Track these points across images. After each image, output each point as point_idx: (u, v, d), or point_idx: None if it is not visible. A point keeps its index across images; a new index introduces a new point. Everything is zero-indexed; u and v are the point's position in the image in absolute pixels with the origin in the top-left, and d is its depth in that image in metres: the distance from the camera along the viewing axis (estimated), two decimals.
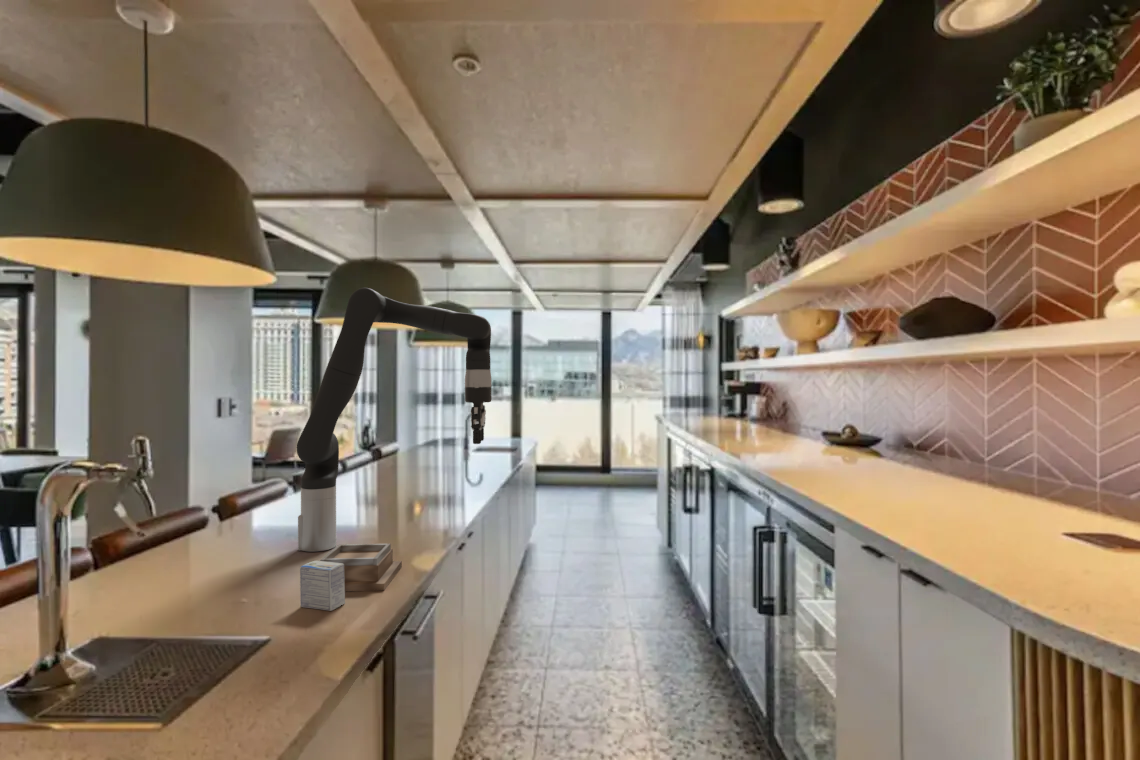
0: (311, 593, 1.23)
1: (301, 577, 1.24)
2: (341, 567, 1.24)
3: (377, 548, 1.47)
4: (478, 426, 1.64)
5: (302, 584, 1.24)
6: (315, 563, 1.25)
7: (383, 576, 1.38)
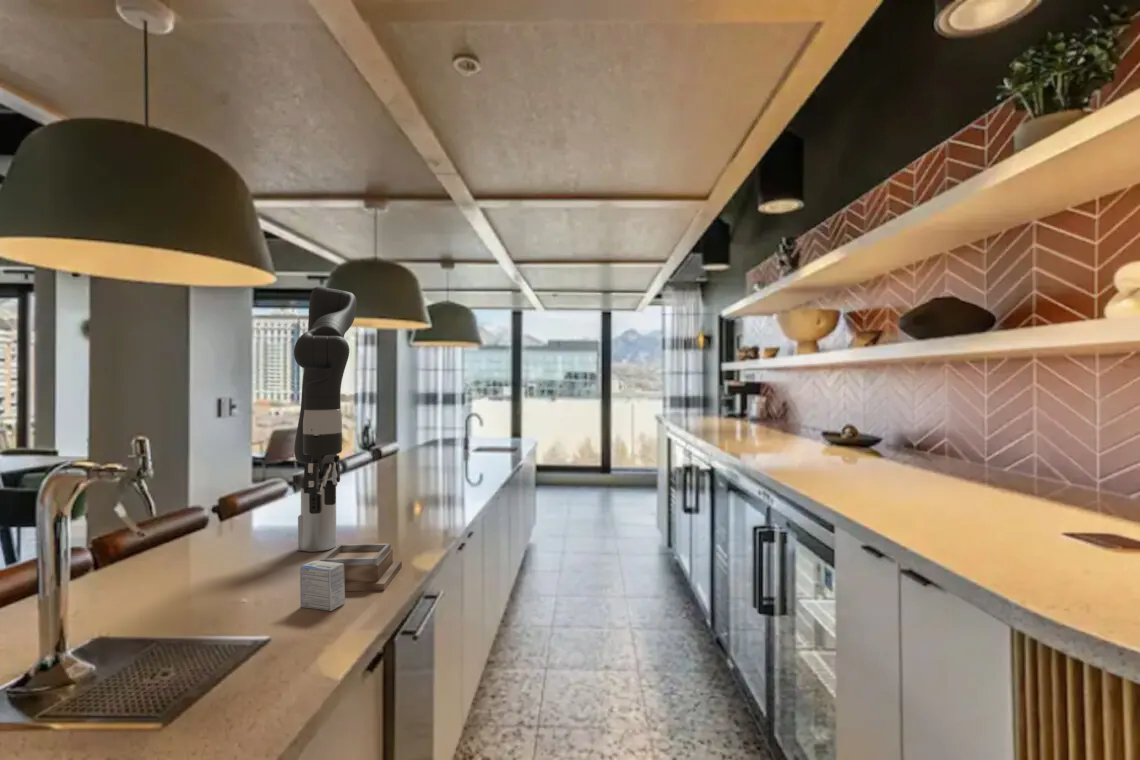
0: (311, 593, 1.23)
1: (301, 577, 1.24)
2: (341, 567, 1.24)
3: (377, 548, 1.47)
4: (313, 490, 1.18)
5: (302, 584, 1.24)
6: (315, 563, 1.25)
7: (383, 576, 1.38)
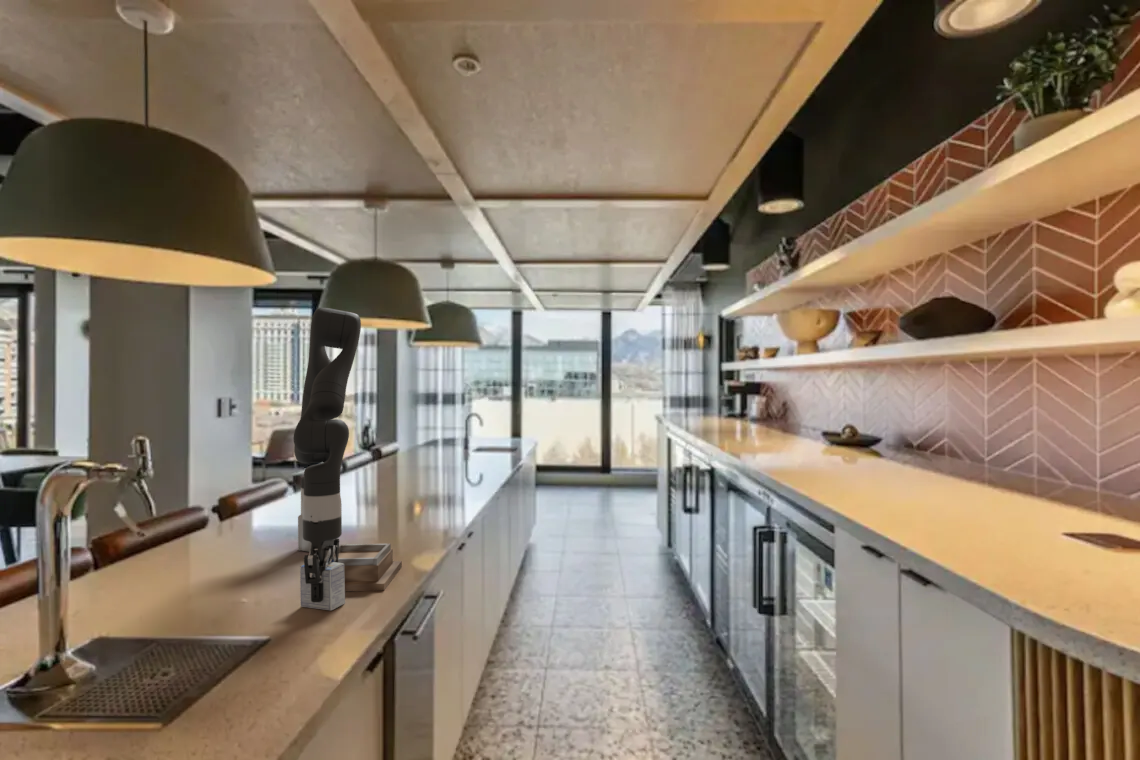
0: None
1: (301, 577, 1.24)
2: (341, 567, 1.24)
3: (377, 548, 1.47)
4: (315, 581, 1.19)
5: (302, 584, 1.23)
6: None
7: (383, 576, 1.38)
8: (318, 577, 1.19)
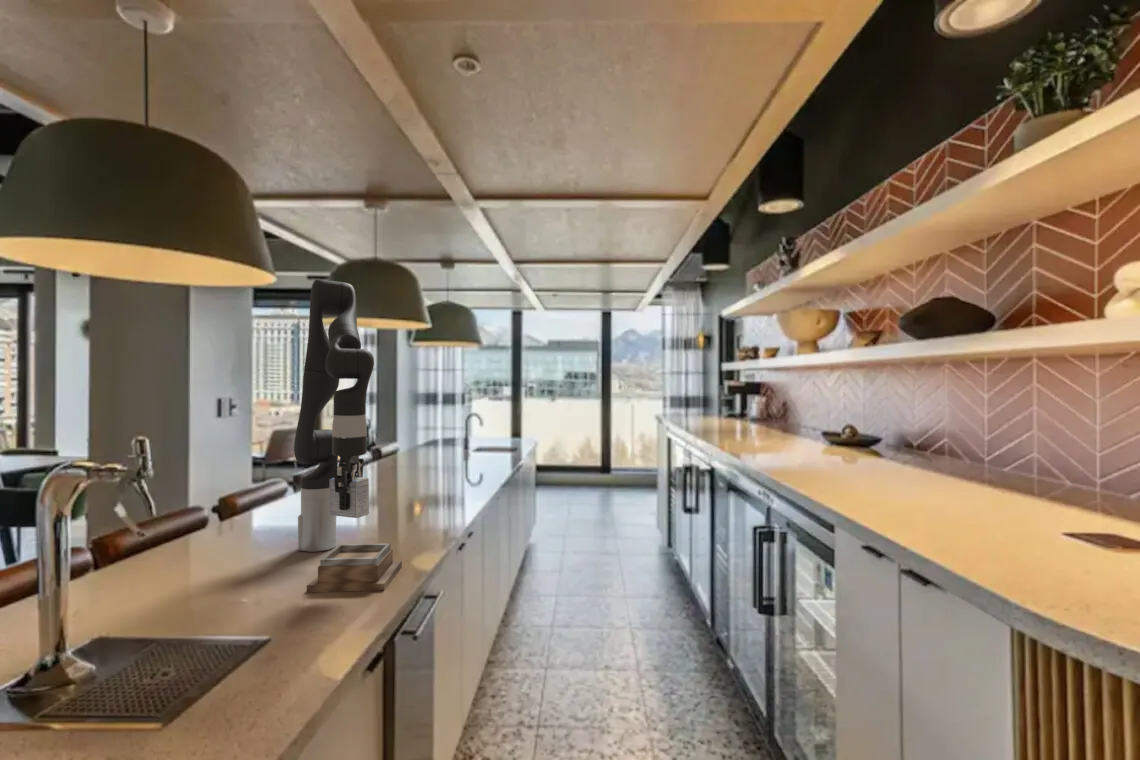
0: None
1: (330, 488, 1.38)
2: (366, 481, 1.39)
3: (377, 548, 1.47)
4: (343, 490, 1.33)
5: (331, 495, 1.38)
6: None
7: (383, 576, 1.38)
8: (346, 486, 1.33)
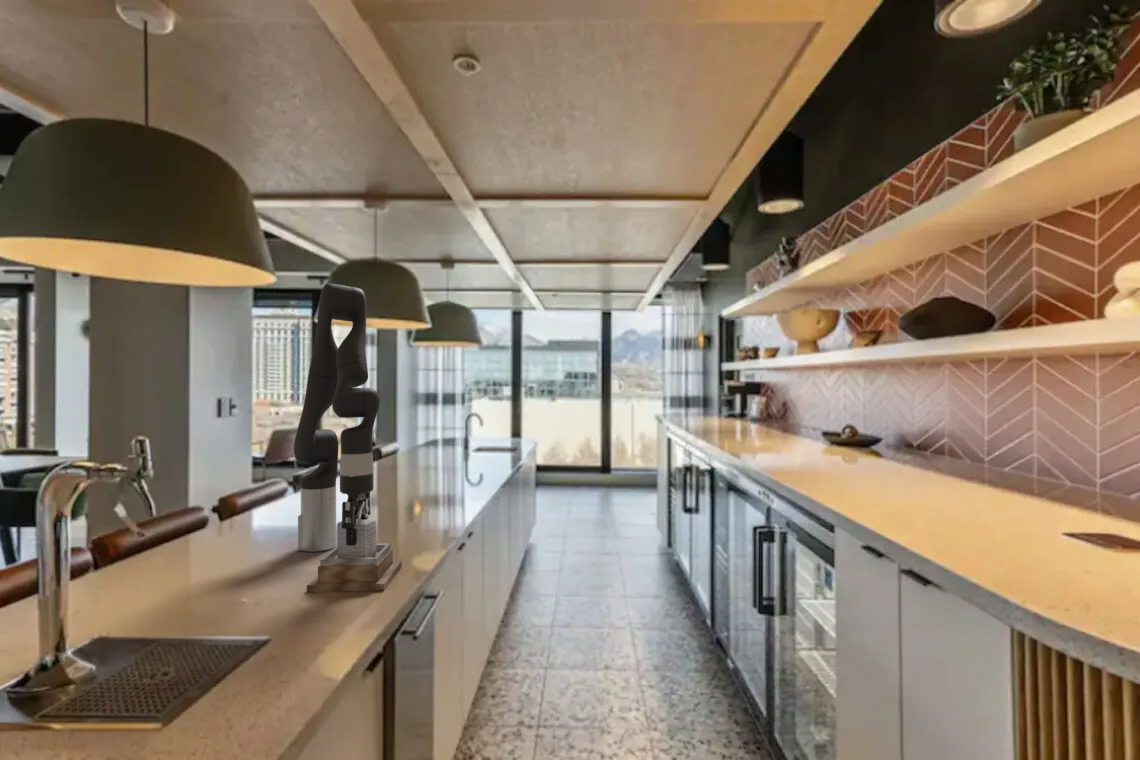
0: (347, 546, 1.40)
1: (338, 532, 1.41)
2: (373, 523, 1.42)
3: (377, 548, 1.47)
4: (350, 526, 1.35)
5: (339, 538, 1.41)
6: (350, 520, 1.42)
7: (383, 576, 1.38)
8: (353, 522, 1.35)
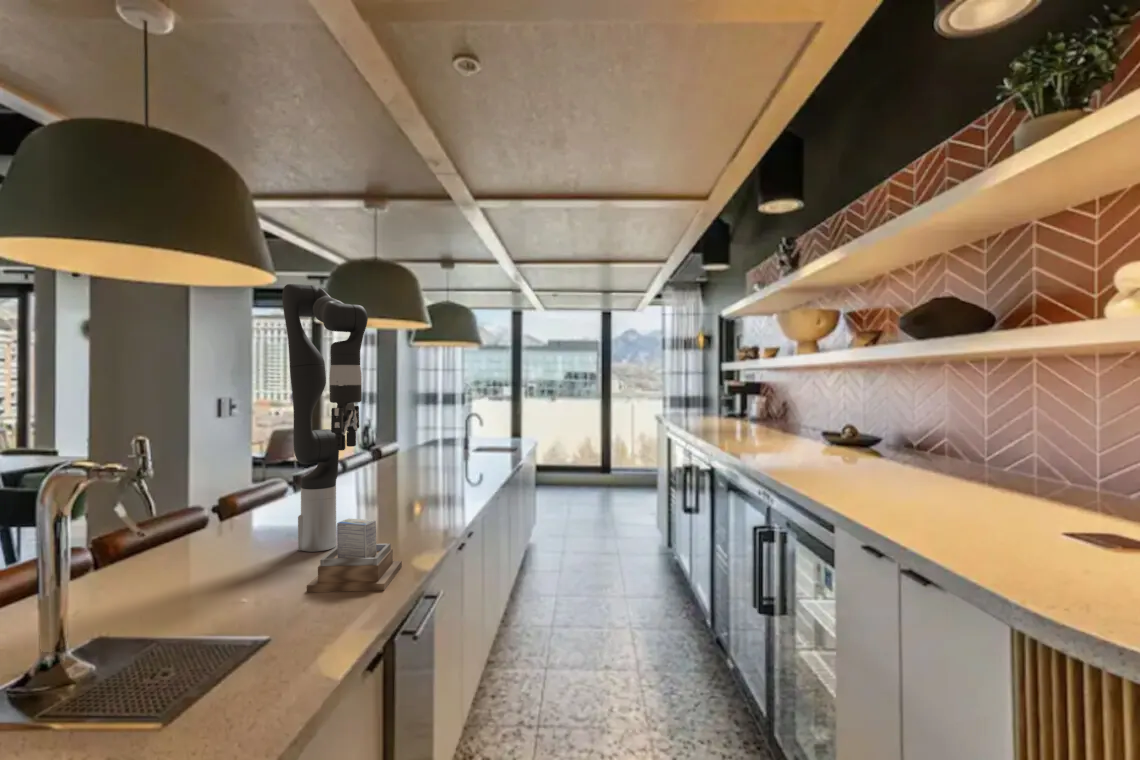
0: (347, 546, 1.40)
1: (338, 532, 1.41)
2: (373, 523, 1.42)
3: (377, 548, 1.47)
4: (339, 430, 1.42)
5: (339, 538, 1.40)
6: (350, 520, 1.42)
7: (383, 576, 1.38)
8: (341, 427, 1.43)
